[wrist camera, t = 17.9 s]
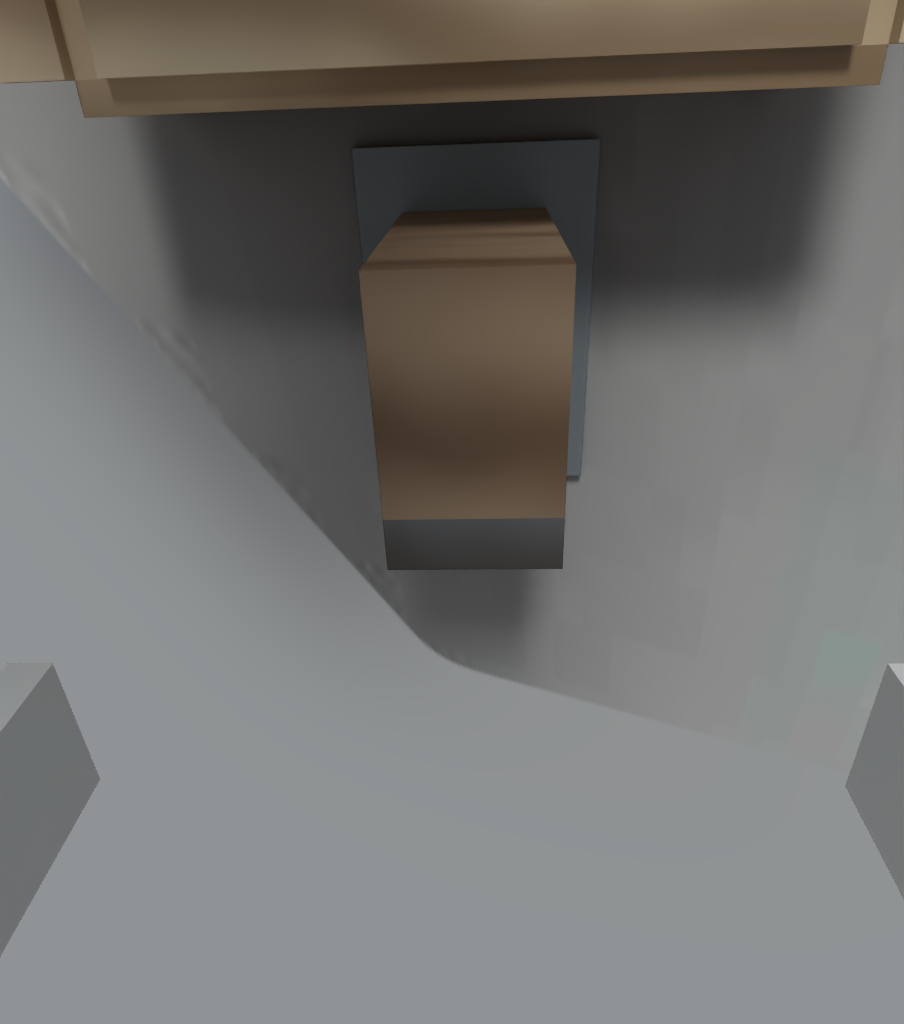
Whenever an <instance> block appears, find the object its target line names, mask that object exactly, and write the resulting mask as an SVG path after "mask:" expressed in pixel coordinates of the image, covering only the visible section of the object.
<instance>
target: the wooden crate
mask: <svg viewBox="0 0 904 1024" xmlns="http://www.w3.org/2000/svg"><path fill="white" fill-rule="evenodd" d="M902 43H904V0H0V83H28V82H50V81H72V80H75V83H76V87H77V91H78V95H79V99H80V103H81V106H82V110H83V114H84V118H91V117H115V116H139V115H163V114H187V113H211V112H235V111H259V110H283V109H307V108H331V107H355V106H379V105H403V104H427V103H451V102H475V101H499V100H523V99H547V98H571V97H595V96H619V95H643V94H667V93H691V92H715V91H739V90H763V89H787V88H811V87H835V86H859V85H879V84H880V80H881V75H882V71H883V66H884V62H885V57H886V53H887V48H888V44H902Z"/></svg>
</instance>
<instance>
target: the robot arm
mask: <svg viewBox="0 0 904 1024" xmlns="http://www.w3.org/2000/svg"><path fill="white" fill-rule="evenodd" d="M99 780H100V778H99V775H98V773H97V770H96V768H95V766H94V763H93V761H92V759H91V756H90V753H89V751H88V748H87V746H86V744H85V741H84V739H83V736H82V734H81V731H80V729H79V726H78V724H77V722H76V719H75V717H74V714H73V712H72V709H71V707H70V705H69V702H68V700H67V697H66V695H65V692H64V690H63V687H62V685H61V683H60V680H59V678H58V675H57V673H56V670H55V668H54V666H53V663H7V664H6V665H5V666H4V667H3V669H2V670H1V671H0V956H1V954H2V952H3V951H4V949H5V947H6V945H7V943H8V942H9V940H10V938H11V936H12V935H13V933H14V931H15V929H16V927H17V926H18V924H19V922H20V920H21V919H22V917H23V915H24V913H25V912H26V910H27V908H28V906H29V905H30V903H31V901H32V899H33V897H34V896H35V894H36V892H37V890H38V888H39V887H40V885H41V883H42V881H43V880H44V878H45V876H46V874H47V873H48V871H49V869H50V867H51V865H52V864H53V862H54V860H55V858H56V857H57V855H58V853H59V851H60V850H61V848H62V846H63V844H64V842H65V841H66V839H67V837H68V835H69V834H70V832H71V830H72V828H73V826H74V825H75V823H76V821H77V819H78V817H79V816H80V814H81V812H82V810H83V809H84V807H85V805H86V803H87V802H88V800H89V798H90V796H91V794H92V793H93V791H94V789H95V787H96V785H97V784H98V782H99ZM846 788H847V790H848V792H849V794H850V796H851V798H852V800H853V802H854V804H855V806H856V807H857V809H858V812H859V813H860V815H861V817H862V819H863V821H864V823H865V825H866V827H867V829H868V831H869V833H870V835H871V837H872V839H873V841H874V842H875V844H876V846H877V848H878V850H879V852H880V854H881V856H882V858H883V860H884V862H885V864H886V866H887V867H888V869H889V871H890V873H891V875H892V877H893V879H894V881H895V883H896V885H897V887H898V889H899V891H900V893H901V894H902V897H903V898H904V664H888V665H887V667H886V670H885V673H884V676H883V679H882V682H881V685H880V688H879V691H878V693H877V696H876V699H875V702H874V705H873V708H872V711H871V714H870V716H869V719H868V722H867V725H866V728H865V731H864V734H863V737H862V740H861V742H860V745H859V748H858V751H857V754H856V757H855V760H854V763H853V766H852V768H851V771H850V774H849V777H848V780H847V783H846Z"/></svg>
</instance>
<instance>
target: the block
mask: <svg viewBox="0 0 904 1024" xmlns="http://www.w3.org/2000/svg"><path fill="white" fill-rule="evenodd" d="M359 281H360V292H361V302H362V312H363V322H364V333H365V343H366V353H367V363H368V373H369V384H370V394H371V404H372V414H373V424H374V435H375V445H376V455H377V465H378V476H379V486H380V496H381V506H382V516H383V527H384V537H385V547H386V557H387V568H388V570H445V569H563V547H564V525H565V503H566V481H567V459H568V437H569V416H570V394H571V372H572V350H573V328H574V306H575V284H576V263H575V261H574V259H573V257H572V255H571V253H570V252H569V250H568V248H567V246H566V244H565V242H564V240H563V239H562V237H561V235H560V233H559V231H558V229H557V227H556V226H555V224H554V222H553V220H552V218H551V216H550V214H549V213H548V211H547V209H546V207H543V208H514V209H485V210H456V211H427V212H402V214H401V215H400V216H399V218H398V219H397V220H396V222H395V223H394V224H393V226H392V227H391V228H390V230H389V231H388V232H387V234H386V235H385V236H384V238H383V239H382V240H381V242H380V243H379V244H378V246H377V247H376V248H375V250H374V251H373V252H372V254H371V255H370V256H369V258H368V259H367V260H366V262H365V263H364V264H363V266H362V267H361V268H360V270H359Z"/></svg>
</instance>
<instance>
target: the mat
mask: <svg viewBox="0 0 904 1024" xmlns="http://www.w3.org/2000/svg"><path fill="white" fill-rule="evenodd" d="M599 153H600V139H574V140H548V141H522V142H496V143H470V144H444V145H418V146H392V147H366V148H352V159H353V169H354V180H355V191H356V201H357V212H358V223H359V233H360V244H361V255H362V265H363V264H364V263H365V262H366V260H367V259H368V258H369V256H370V255H371V254H372V252H373V251H374V250H375V248H376V247H377V246H378V244H379V243H380V242H381V240H382V239H383V238H384V236H385V235H386V234H387V232H388V231H389V230H390V228H391V227H392V226H393V224H394V223H395V222H396V220H397V219H398V218H399V216H400V215H401V214H402V212H427V211H456V210H485V209H514V208H543V207H546V209H547V211H548V213H549V214H550V216H551V218H552V220H553V222H554V224H555V226H556V227H557V229H558V231H559V233H560V235H561V237H562V239H563V240H564V242H565V244H566V246H567V248H568V250H569V252H570V253H571V255H572V257H573V259H574V261H575V263H576V284H575V306H574V328H573V350H572V372H571V394H570V416H569V437H568V459H567V476H581V465H582V447H583V430H584V413H585V395H586V378H587V361H588V343H589V326H590V309H591V291H592V274H593V257H594V239H595V222H596V205H597V187H598V170H599Z"/></svg>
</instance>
